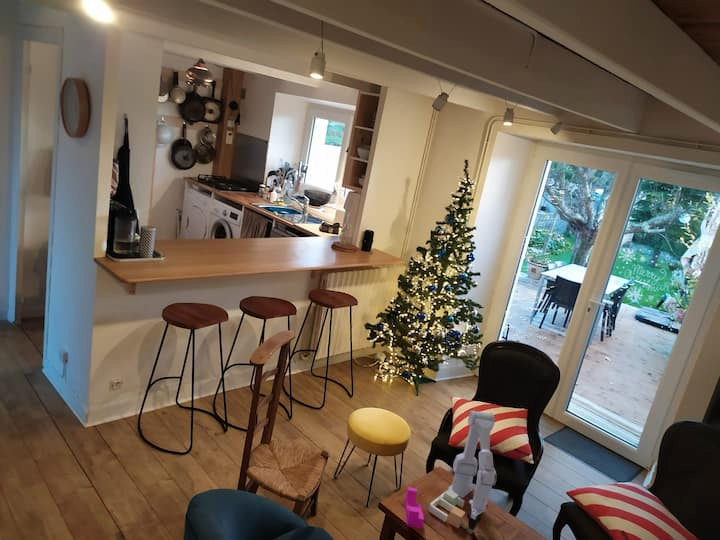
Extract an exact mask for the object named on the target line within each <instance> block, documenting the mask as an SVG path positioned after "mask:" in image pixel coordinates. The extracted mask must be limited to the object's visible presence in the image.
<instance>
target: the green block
mask: <svg viewBox="0 0 720 540" xmlns="http://www.w3.org/2000/svg"><path fill="white" fill-rule="evenodd" d="M444 492H445V491H444ZM444 492H443V493H444ZM458 497H460V496H459V495H458V494H456V493H455V492H453V491H451V490H450V489H448V488H447V490H446V492H445V493H444V496H443V499H444V500H446V501H447V502H449V503H450V504H452V505H453V506H455V507H457V500H458Z"/></svg>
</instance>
